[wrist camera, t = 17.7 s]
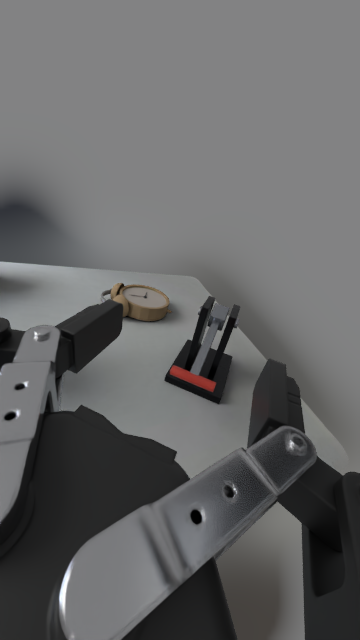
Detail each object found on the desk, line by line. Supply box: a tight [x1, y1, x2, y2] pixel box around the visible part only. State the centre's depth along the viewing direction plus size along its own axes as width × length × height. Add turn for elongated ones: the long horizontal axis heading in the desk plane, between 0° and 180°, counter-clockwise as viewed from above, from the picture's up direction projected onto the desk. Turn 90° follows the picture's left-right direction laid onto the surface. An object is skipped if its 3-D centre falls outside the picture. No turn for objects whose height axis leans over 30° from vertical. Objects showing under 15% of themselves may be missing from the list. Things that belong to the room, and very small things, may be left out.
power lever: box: [170, 303, 229, 392], centre depth 31 cm, size 13×6×2 cm, turn 160°
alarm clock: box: [101, 283, 172, 321], centre depth 52 cm, size 11×5×15 cm
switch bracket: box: [165, 296, 240, 404], centre depth 37 cm, size 11×9×13 cm
